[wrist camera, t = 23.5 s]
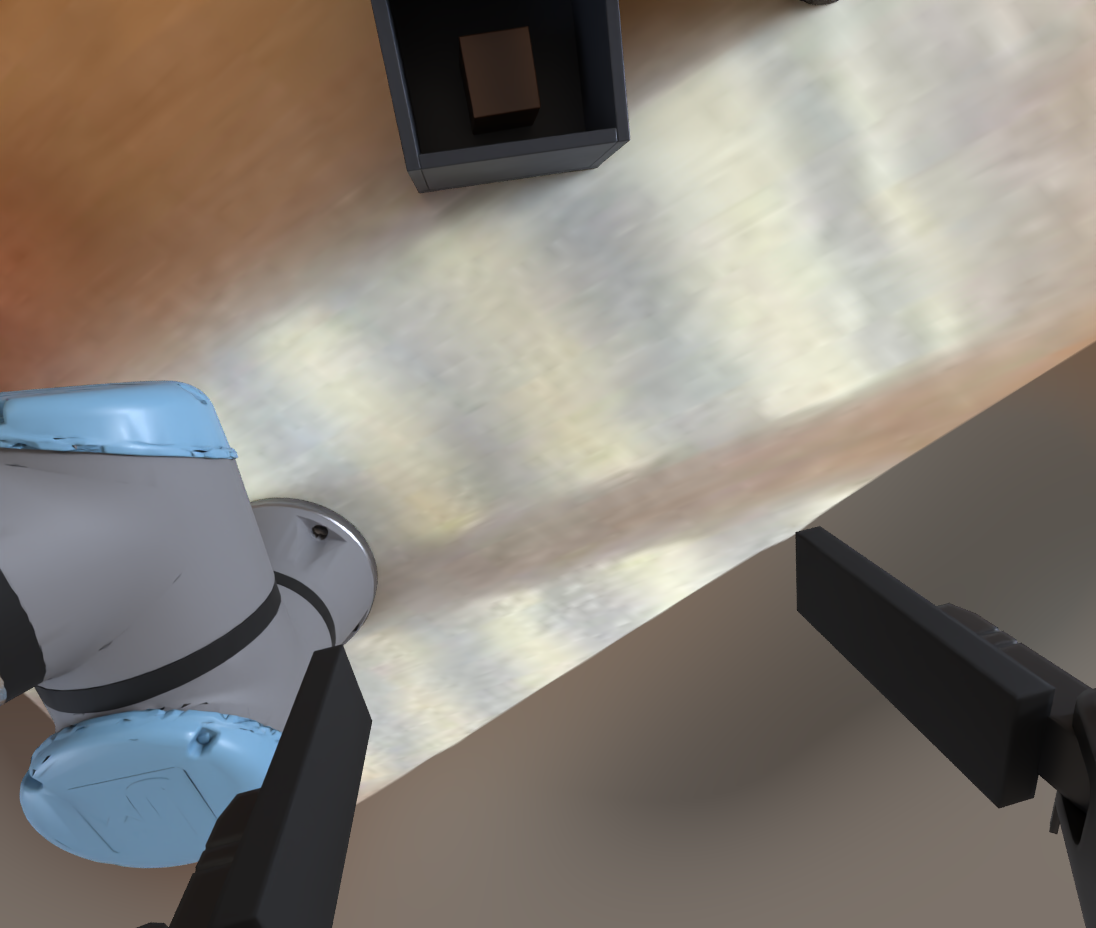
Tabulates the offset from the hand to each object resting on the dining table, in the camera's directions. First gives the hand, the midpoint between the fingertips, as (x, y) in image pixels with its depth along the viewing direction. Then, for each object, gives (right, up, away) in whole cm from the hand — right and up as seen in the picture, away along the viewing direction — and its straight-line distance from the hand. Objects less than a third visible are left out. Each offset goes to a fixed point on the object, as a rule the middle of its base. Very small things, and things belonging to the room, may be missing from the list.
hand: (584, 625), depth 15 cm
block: (-5, +31, +23) cm, 38 cm away
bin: (-5, +34, +22) cm, 41 cm away
